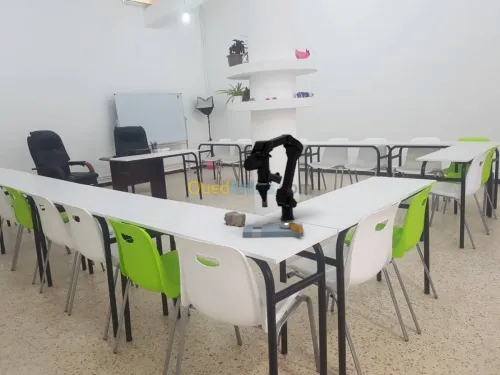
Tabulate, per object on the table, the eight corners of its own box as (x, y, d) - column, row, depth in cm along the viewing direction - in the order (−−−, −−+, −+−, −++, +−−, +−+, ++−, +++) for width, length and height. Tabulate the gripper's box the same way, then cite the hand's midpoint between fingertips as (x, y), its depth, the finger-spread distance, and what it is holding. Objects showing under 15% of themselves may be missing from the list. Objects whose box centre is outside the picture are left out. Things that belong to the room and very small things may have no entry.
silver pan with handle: (288, 223, 176) (288, 218, 176) (307, 231, 164) (307, 225, 163) (276, 226, 173) (276, 220, 173) (294, 234, 161) (294, 228, 160)
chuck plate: (246, 229, 180) (245, 224, 180) (302, 228, 177) (302, 223, 177) (242, 237, 169) (242, 232, 168) (303, 236, 166) (303, 231, 165)
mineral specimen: (251, 223, 190) (250, 211, 189) (243, 227, 184) (242, 214, 183) (230, 221, 197) (229, 209, 196) (222, 224, 191) (221, 212, 190)
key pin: (262, 206, 183) (261, 189, 181) (267, 206, 183) (267, 189, 181) (261, 207, 180) (261, 190, 179) (267, 207, 180) (266, 190, 179)
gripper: (280, 170, 168) (281, 205, 171) (281, 165, 186) (282, 197, 189) (254, 171, 169) (256, 206, 172) (258, 165, 188) (259, 197, 190)
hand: (264, 201), depth 181 cm, fingers closed on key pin, 3 cm apart
